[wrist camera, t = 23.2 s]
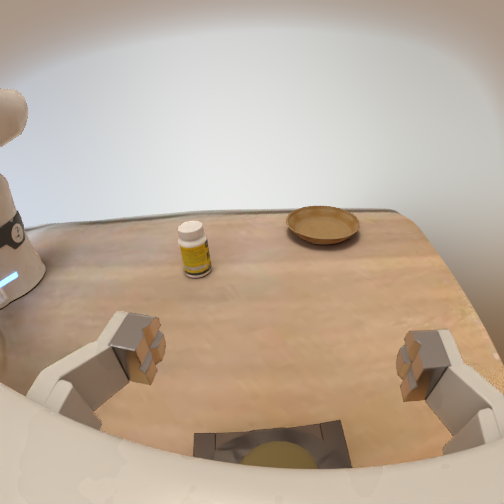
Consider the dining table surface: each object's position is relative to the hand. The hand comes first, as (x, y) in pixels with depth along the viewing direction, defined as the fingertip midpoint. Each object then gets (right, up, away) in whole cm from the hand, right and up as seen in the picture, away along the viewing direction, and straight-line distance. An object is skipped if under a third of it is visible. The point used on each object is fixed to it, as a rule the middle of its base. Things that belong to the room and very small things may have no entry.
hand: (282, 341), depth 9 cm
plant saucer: (+13, +7, +51) cm, 53 cm away
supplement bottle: (-10, 0, +42) cm, 43 cm away
